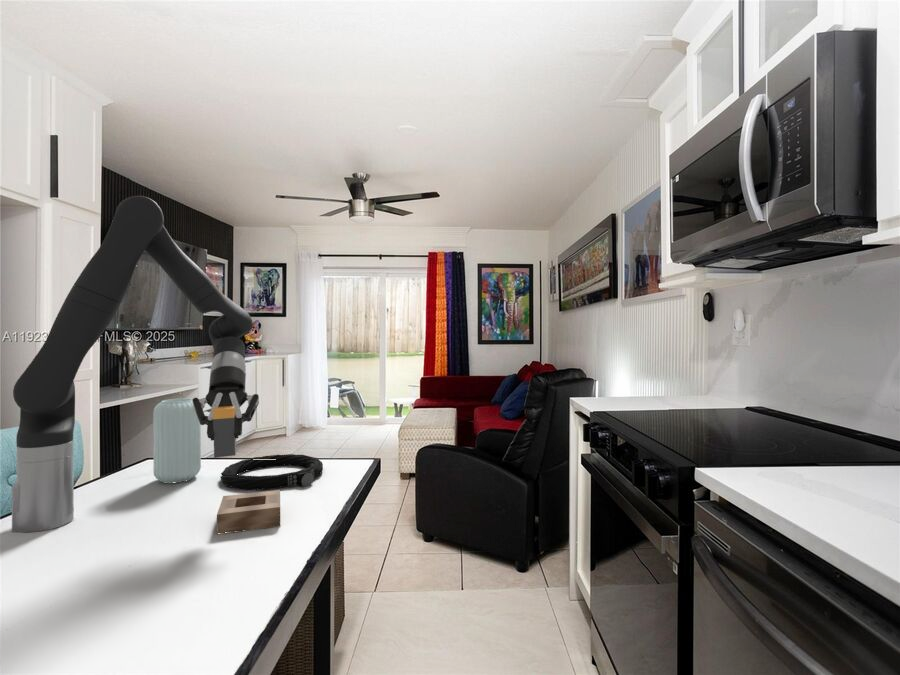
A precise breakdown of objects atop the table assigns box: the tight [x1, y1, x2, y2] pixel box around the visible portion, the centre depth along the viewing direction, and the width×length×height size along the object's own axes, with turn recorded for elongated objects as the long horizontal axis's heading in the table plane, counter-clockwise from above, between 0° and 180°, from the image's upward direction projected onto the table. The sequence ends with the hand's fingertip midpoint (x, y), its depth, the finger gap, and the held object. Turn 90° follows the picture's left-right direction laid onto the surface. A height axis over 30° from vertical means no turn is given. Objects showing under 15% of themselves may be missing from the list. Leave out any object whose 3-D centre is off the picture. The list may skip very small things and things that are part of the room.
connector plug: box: [213, 406, 237, 458], centre depth 102 cm, size 4×4×10 cm
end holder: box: [216, 489, 281, 534], centre depth 103 cm, size 12×12×4 cm
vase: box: [152, 398, 202, 484], centre depth 133 cm, size 12×12×22 cm
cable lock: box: [220, 453, 324, 490], centre depth 136 cm, size 28×4×30 cm
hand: (224, 437), depth 100 cm, fingers closed on connector plug, 4 cm apart
